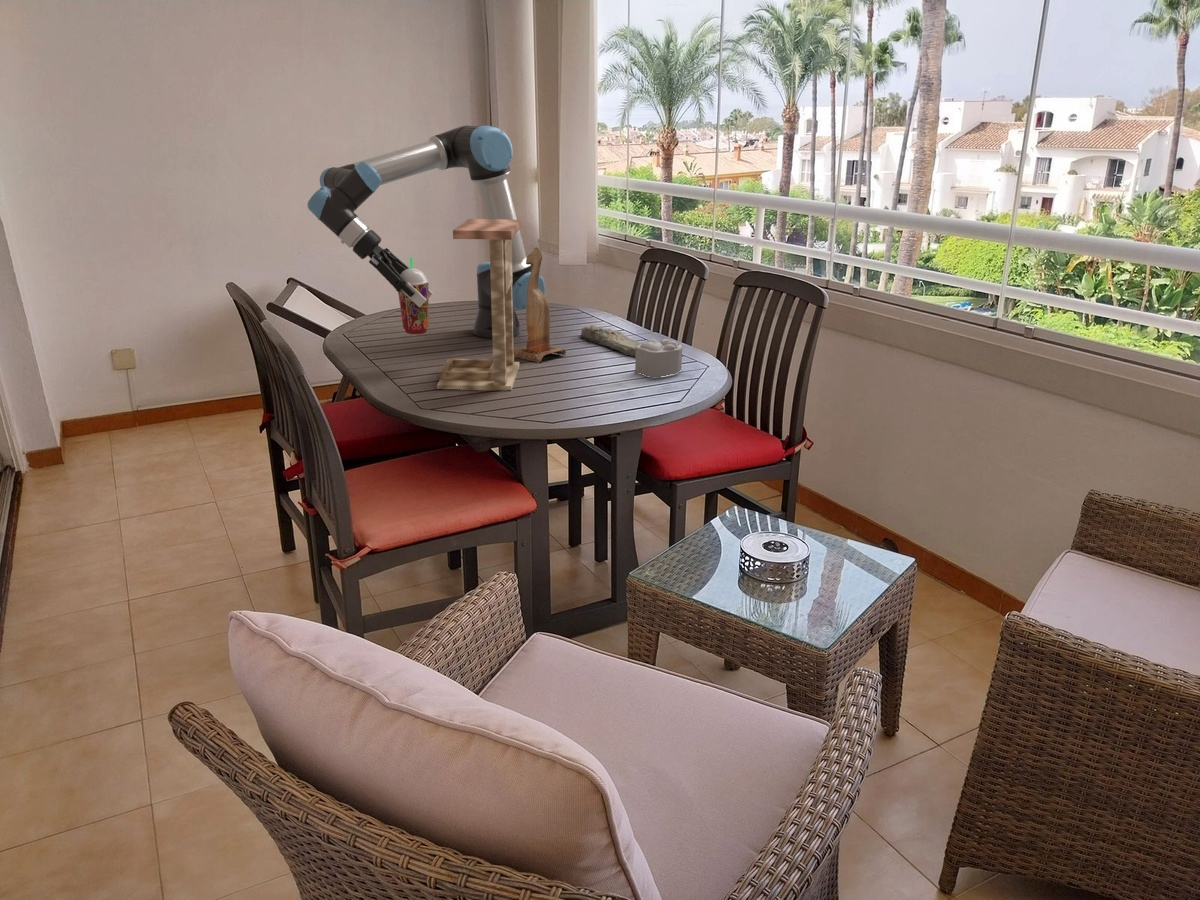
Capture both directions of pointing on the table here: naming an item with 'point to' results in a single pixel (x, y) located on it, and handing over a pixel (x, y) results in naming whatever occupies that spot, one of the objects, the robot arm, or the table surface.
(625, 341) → the long grey stone
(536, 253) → the bird sculpture
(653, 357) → the lumpy-topped squat cylinder
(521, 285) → the robot arm
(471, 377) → the wooden pedestal stand
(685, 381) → the table surface
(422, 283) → the smoothie
